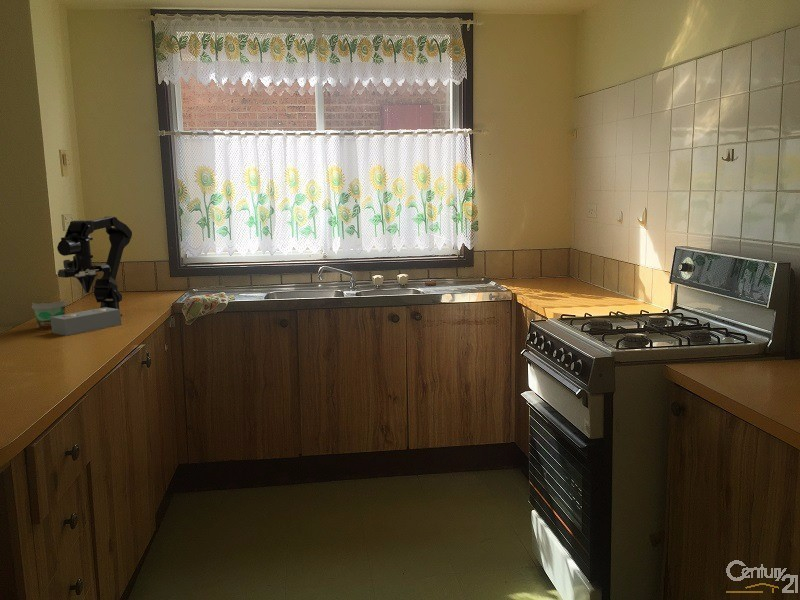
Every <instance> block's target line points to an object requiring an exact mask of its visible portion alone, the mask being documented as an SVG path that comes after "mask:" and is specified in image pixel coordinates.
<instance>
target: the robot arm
mask: <svg viewBox="0 0 800 600" xmlns="http://www.w3.org/2000/svg"><path fill="white" fill-rule="evenodd" d="M100 229H105V232H106V234H107V235H108V240H109V243H110V248H109V252H108V255H107V259H106V263H105V264H101V263H100V264H96V265H93V262H92V261H93V260H92V259H93V258H94V255H93V254H92V251H91V243H90V241H93V240H94V239H93V237H92V236H90V235H91V234H92V233H94V232H95V231H97V230H100ZM132 236H133V232H132V230H131V228H130V227H129V226H128V225H127V224H125V223H124V222H122V221H120V220H119V218H117V217H116V216H111V215H110V216H104V217H100V218H95V219H90V220H88V219H87V220H86V219H85V220H84V219H83V220H82V219H81V220H79V219H78V220H71V221H69V224H68V227H67V229H66V232H65V235H64V237H60V241H59V242H58V244H57V247H56V249H57V251H58V253H59V254H60V255H61V256H63V257H66V256H71V255H72V260H71V259H64V260H63V269H58V271H57V276H58V278H76V279H77V281H78V282H79V283H80V285H81V287H82V289H83V291H84V293H86V294H89V292H90V290H91V287H92V285H93V282H94V281H95V282H94V283H95V284H94V286H93V294H94V297H95V300H96V303H100V307H99V308H104V307H107V308H114V309H120V302H121V301H123V295H122V294H121V293H120V291H119V290H118V287H119V286H118V284H117V281H116V279H117V276H118V272H119V268H120V264H121V259H122V256H123V253H124V252H123V251H124V249H125V248H126V247H127V246H128V245H129V244H130V242H131V239H132ZM97 272H98V273H99V272H102V273H103V274H102V277H101V278H96V277H97V276H98V274H97ZM95 279H96V280H95ZM120 315H121V317H122V316H123V314H121V313H120Z"/></svg>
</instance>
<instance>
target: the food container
mask: <svg viewBox="0 0 800 600" xmlns="http://www.w3.org/2000/svg"><path fill="white" fill-rule="evenodd" d="M66 306H68V305H67V301H66V299H64V300H61V301H56V302H55V301H54V302H45V303H34V302H32V304H31V309H33V311H34V316H35V320H36V323H37V328H38V330H52V328H51V319H50V317H53V316H59V315H64V314H66Z"/></svg>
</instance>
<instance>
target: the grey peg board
mask: <svg viewBox="0 0 800 600" xmlns="http://www.w3.org/2000/svg"><path fill="white" fill-rule="evenodd" d="M100 309H106V311H101V312H95V310H100ZM120 314H121V309H120V308H119V309H114V308H107V307H104V308H100V307H99V308H93V309H87V310H82V311H76V312H70V313H65V314H64V315H59V316H53V317H50V319H51V328H52V329H51V333H52V334H56V335H61V336H66V337H67V336H71V335H77V334H81V333H87V332H91V331H96V330H102V329H106V328H107V329H108V328H112V327H117V326H121V325H122V316H121V315H120ZM66 315H76V316H73V317H65V316H66Z"/></svg>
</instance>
